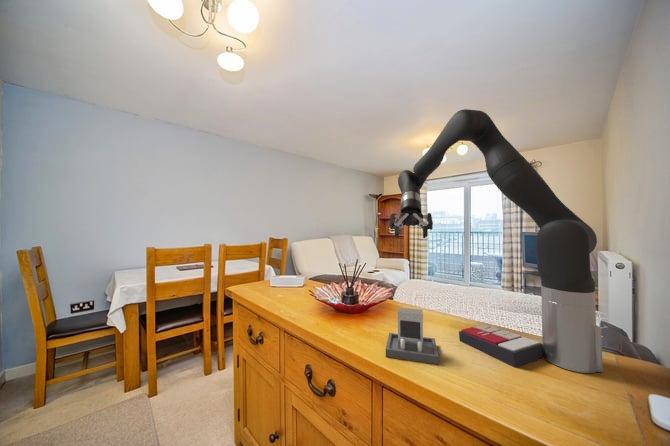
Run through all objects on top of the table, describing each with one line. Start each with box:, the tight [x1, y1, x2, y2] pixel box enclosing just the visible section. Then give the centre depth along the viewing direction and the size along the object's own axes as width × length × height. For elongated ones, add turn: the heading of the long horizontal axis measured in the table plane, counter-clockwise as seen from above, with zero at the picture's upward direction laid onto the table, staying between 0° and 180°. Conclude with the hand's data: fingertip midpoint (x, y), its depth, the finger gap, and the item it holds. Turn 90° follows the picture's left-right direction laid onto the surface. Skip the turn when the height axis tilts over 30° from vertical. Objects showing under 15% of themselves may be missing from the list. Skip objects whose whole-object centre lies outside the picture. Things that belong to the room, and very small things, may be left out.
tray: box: [385, 332, 440, 365], centre depth 63 cm, size 12×10×4 cm
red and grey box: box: [458, 324, 545, 369], centre depth 64 cm, size 11×4×15 cm
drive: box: [397, 307, 424, 351], centre depth 64 cm, size 6×4×9 cm
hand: (410, 236), depth 83 cm, fingers open, 8 cm apart
